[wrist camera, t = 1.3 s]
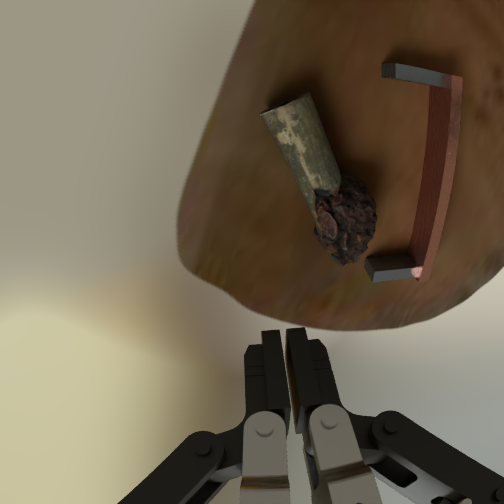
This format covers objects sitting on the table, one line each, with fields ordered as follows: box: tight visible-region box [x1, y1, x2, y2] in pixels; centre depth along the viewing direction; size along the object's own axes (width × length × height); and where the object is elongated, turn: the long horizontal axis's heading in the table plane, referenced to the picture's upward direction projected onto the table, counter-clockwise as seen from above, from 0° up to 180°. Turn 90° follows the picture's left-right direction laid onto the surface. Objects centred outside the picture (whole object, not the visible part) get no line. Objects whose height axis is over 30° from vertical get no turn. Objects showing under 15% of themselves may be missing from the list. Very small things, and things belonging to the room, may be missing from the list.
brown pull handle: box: [364, 63, 463, 282], centre depth 28 cm, size 8×24×4 cm, turn 3°
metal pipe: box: [260, 92, 377, 267], centre depth 28 cm, size 18×7×6 cm, turn 25°
